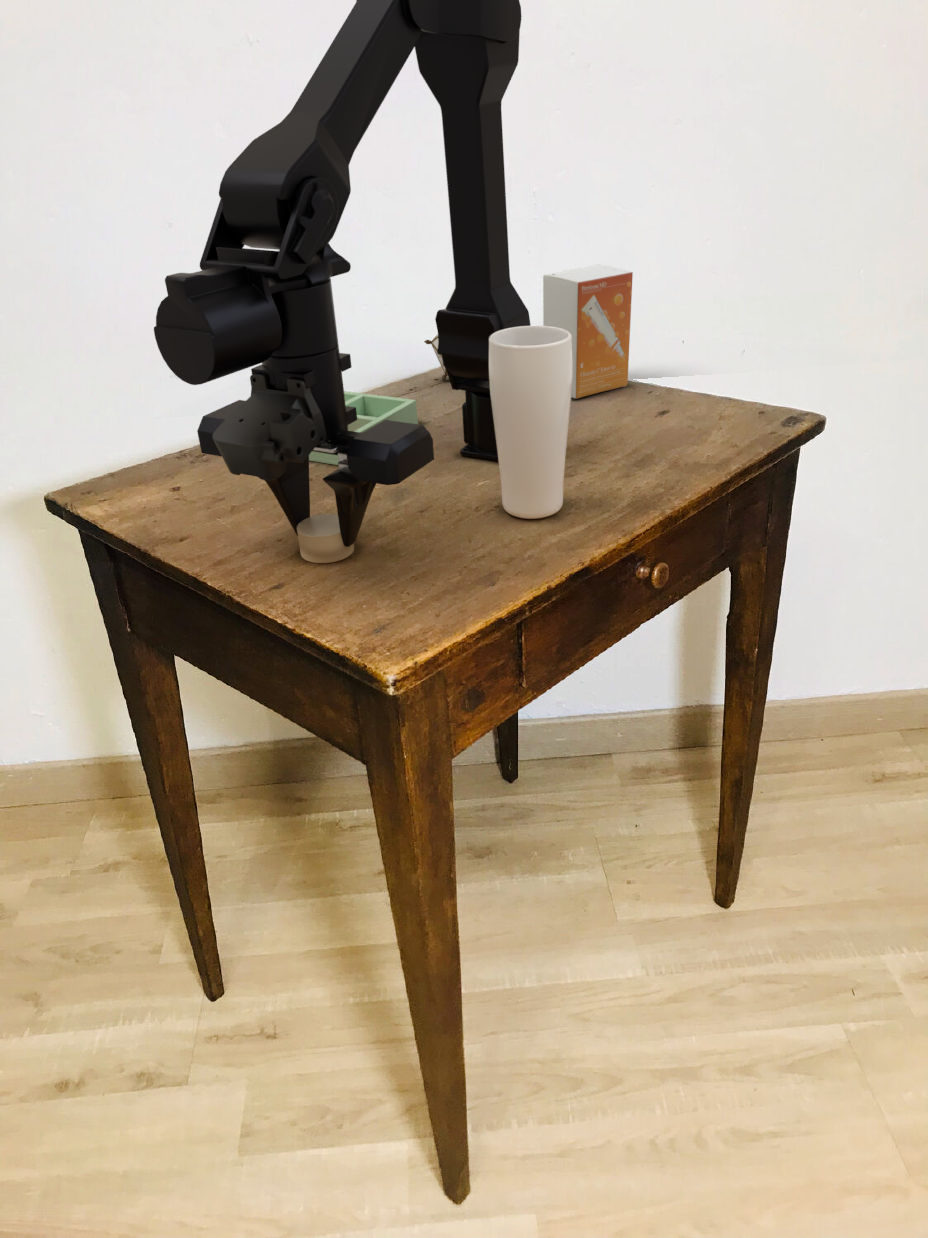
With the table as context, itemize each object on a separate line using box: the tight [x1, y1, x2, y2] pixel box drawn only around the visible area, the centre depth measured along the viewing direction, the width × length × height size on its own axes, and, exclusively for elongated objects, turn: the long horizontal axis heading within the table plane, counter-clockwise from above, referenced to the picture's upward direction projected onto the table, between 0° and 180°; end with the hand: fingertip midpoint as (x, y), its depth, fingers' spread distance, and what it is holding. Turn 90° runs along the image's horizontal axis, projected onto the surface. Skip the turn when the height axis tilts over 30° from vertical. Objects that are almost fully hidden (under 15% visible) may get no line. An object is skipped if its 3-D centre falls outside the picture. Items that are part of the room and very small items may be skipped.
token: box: [297, 513, 355, 564], centre depth 77 cm, size 4×4×2 cm
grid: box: [309, 390, 419, 466], centre depth 101 cm, size 14×14×3 cm
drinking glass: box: [488, 325, 573, 520], centre depth 79 cm, size 7×7×15 cm
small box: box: [542, 264, 634, 400], centre depth 109 cm, size 8×6×13 cm
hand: (325, 539), depth 78 cm, fingers closed on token, 4 cm apart
